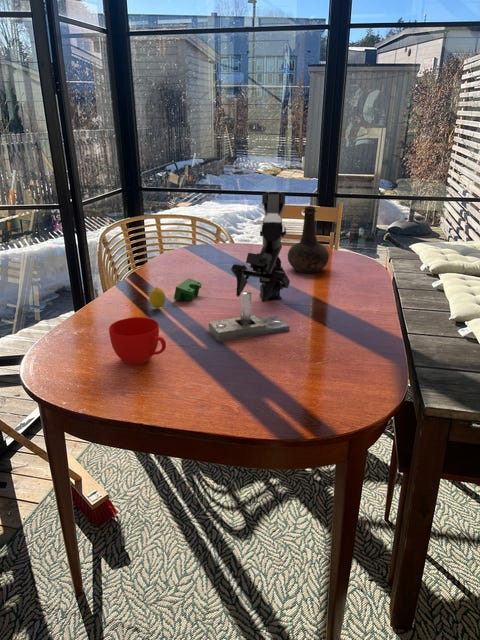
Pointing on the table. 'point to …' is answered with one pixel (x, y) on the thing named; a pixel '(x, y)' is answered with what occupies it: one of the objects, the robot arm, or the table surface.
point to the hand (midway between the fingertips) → (249, 298)
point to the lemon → (157, 297)
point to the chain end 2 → (267, 327)
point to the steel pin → (245, 309)
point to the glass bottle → (308, 247)
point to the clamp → (187, 290)
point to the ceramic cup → (135, 339)
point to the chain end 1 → (234, 328)
